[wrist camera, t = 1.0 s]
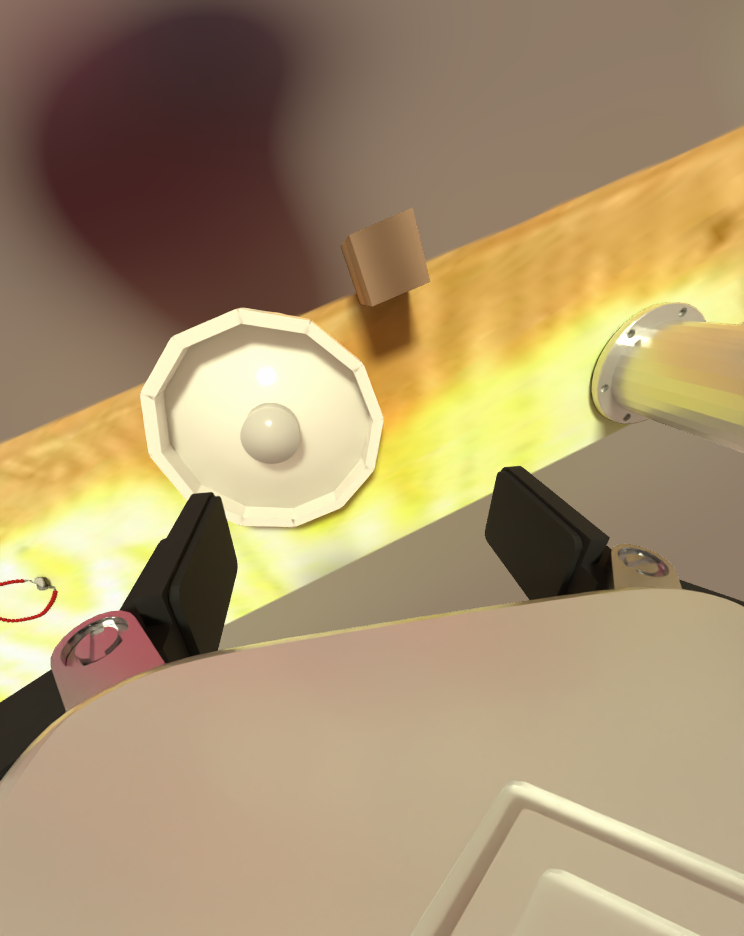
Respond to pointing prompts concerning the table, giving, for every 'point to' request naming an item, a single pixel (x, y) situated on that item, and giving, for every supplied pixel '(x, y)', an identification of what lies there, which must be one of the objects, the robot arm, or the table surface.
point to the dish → (244, 381)
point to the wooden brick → (386, 259)
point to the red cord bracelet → (40, 586)
